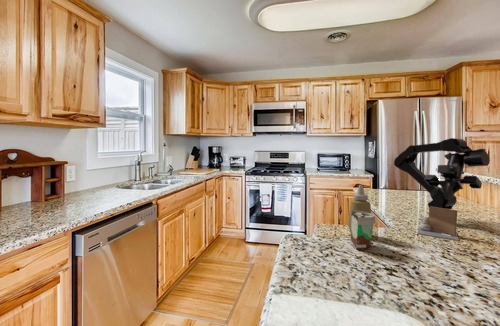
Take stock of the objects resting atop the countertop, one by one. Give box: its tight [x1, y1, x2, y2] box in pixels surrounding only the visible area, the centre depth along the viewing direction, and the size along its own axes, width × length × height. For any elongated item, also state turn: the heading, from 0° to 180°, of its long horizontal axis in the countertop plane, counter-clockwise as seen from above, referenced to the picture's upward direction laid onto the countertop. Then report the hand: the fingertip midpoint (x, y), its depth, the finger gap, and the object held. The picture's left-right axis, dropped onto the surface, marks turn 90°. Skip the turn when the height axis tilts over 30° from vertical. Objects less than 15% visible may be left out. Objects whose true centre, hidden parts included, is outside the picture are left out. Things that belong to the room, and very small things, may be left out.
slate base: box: [417, 225, 460, 242], centre depth 99 cm, size 14×12×1 cm
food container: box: [350, 210, 376, 251], centre depth 82 cm, size 12×6×10 cm, turn 168°
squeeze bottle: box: [347, 184, 372, 234], centre depth 94 cm, size 8×8×18 cm
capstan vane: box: [419, 206, 458, 235], centre depth 98 cm, size 4×12×9 cm, turn 32°
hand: (445, 199), depth 107 cm, fingers closed
